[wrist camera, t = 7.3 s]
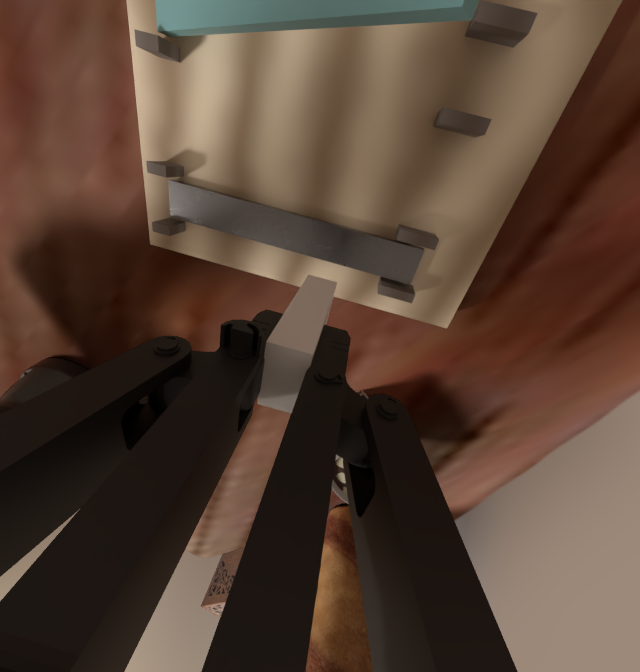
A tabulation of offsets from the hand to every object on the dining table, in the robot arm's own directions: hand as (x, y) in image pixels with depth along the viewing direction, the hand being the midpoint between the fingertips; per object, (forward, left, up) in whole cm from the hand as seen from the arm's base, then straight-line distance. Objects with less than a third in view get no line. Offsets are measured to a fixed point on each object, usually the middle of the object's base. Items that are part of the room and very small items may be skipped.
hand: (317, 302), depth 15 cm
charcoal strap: (-5, 0, -12) cm, 13 cm away
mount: (-4, +6, -15) cm, 17 cm away
